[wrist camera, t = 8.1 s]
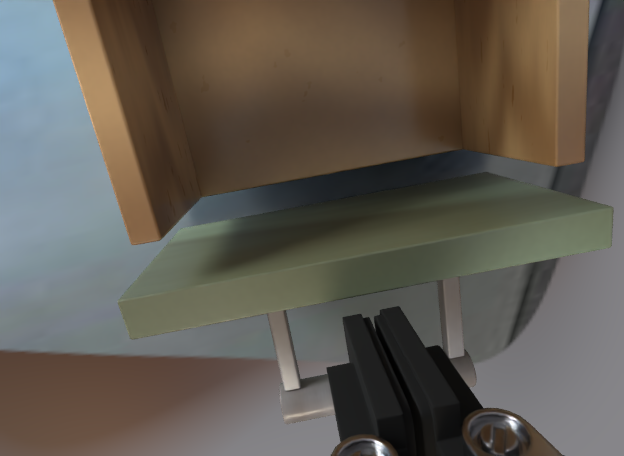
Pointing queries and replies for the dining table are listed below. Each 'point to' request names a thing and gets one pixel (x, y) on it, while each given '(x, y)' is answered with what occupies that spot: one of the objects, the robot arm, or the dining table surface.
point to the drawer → (331, 150)
